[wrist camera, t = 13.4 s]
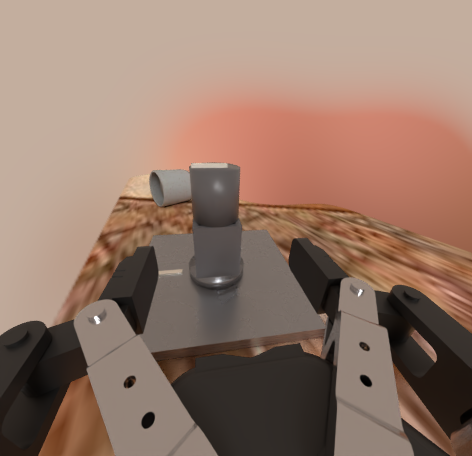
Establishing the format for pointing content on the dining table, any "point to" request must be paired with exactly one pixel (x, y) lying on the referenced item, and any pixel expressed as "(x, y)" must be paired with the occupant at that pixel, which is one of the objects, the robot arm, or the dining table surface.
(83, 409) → the dining table surface
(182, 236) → the base plate
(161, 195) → the ceramic mug
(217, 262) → the knob
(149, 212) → the dining table surface
